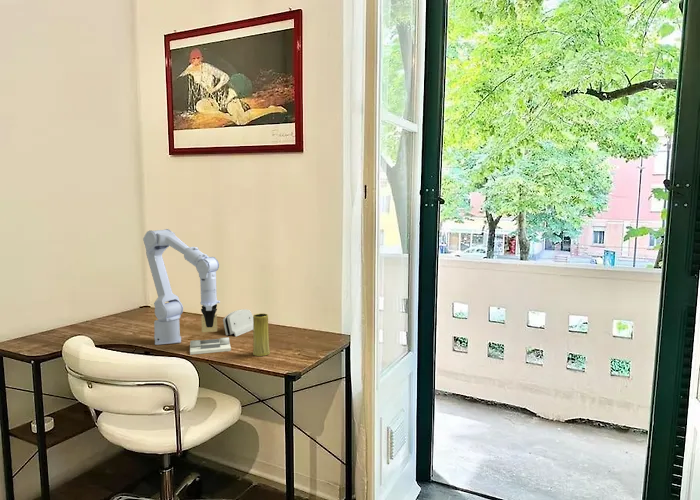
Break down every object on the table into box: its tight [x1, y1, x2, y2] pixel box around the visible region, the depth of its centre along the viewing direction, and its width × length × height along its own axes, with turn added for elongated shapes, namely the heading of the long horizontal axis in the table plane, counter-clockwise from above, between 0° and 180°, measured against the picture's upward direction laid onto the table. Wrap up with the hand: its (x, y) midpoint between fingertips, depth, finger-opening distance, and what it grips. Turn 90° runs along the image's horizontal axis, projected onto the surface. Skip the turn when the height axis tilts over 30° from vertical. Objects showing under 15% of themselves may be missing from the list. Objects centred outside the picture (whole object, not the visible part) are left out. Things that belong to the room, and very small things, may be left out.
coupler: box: [200, 314, 218, 333], centre depth 187 cm, size 6×4×6 cm
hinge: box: [222, 308, 253, 337], centre depth 211 cm, size 17×5×10 cm, turn 156°
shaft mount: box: [189, 336, 232, 356], centre depth 187 cm, size 14×12×3 cm
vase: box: [252, 313, 271, 357], centre depth 179 cm, size 6×6×14 cm
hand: (209, 325), depth 187 cm, fingers closed on coupler, 4 cm apart
